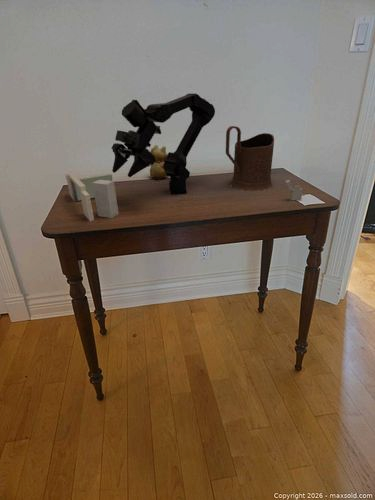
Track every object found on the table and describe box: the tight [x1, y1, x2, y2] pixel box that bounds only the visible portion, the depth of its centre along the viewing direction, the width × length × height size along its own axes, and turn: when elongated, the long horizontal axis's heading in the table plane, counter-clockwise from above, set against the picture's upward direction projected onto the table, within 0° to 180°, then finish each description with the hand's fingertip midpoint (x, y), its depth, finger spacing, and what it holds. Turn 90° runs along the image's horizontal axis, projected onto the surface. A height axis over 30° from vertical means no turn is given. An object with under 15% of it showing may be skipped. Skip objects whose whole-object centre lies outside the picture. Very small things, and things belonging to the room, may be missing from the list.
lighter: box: [284, 178, 304, 202], centre depth 115 cm, size 7×2×8 cm, turn 101°
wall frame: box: [65, 172, 95, 222], centre depth 114 cm, size 32×2×11 cm, turn 30°
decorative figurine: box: [149, 144, 168, 180], centre depth 145 cm, size 10×8×15 cm
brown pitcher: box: [225, 125, 275, 192], centre depth 129 cm, size 18×24×25 cm
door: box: [71, 173, 114, 202], centre depth 124 cm, size 16×2×8 cm, turn 120°
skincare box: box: [92, 180, 119, 219], centre depth 106 cm, size 6×4×12 cm
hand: (120, 174), depth 107 cm, fingers open, 9 cm apart
